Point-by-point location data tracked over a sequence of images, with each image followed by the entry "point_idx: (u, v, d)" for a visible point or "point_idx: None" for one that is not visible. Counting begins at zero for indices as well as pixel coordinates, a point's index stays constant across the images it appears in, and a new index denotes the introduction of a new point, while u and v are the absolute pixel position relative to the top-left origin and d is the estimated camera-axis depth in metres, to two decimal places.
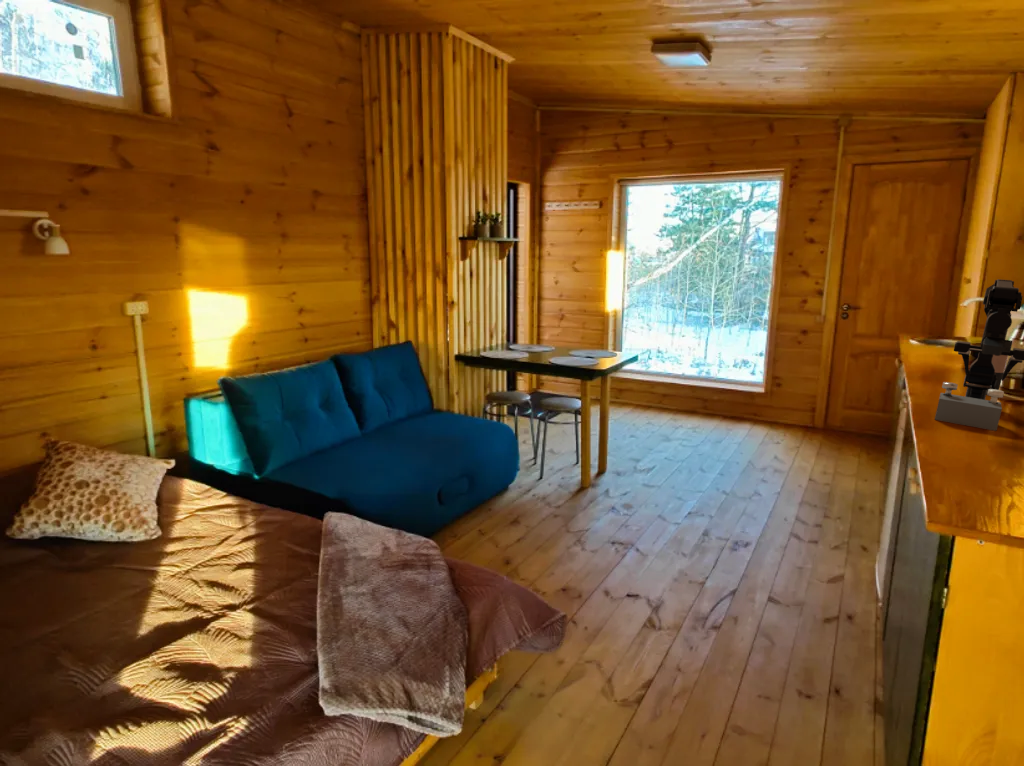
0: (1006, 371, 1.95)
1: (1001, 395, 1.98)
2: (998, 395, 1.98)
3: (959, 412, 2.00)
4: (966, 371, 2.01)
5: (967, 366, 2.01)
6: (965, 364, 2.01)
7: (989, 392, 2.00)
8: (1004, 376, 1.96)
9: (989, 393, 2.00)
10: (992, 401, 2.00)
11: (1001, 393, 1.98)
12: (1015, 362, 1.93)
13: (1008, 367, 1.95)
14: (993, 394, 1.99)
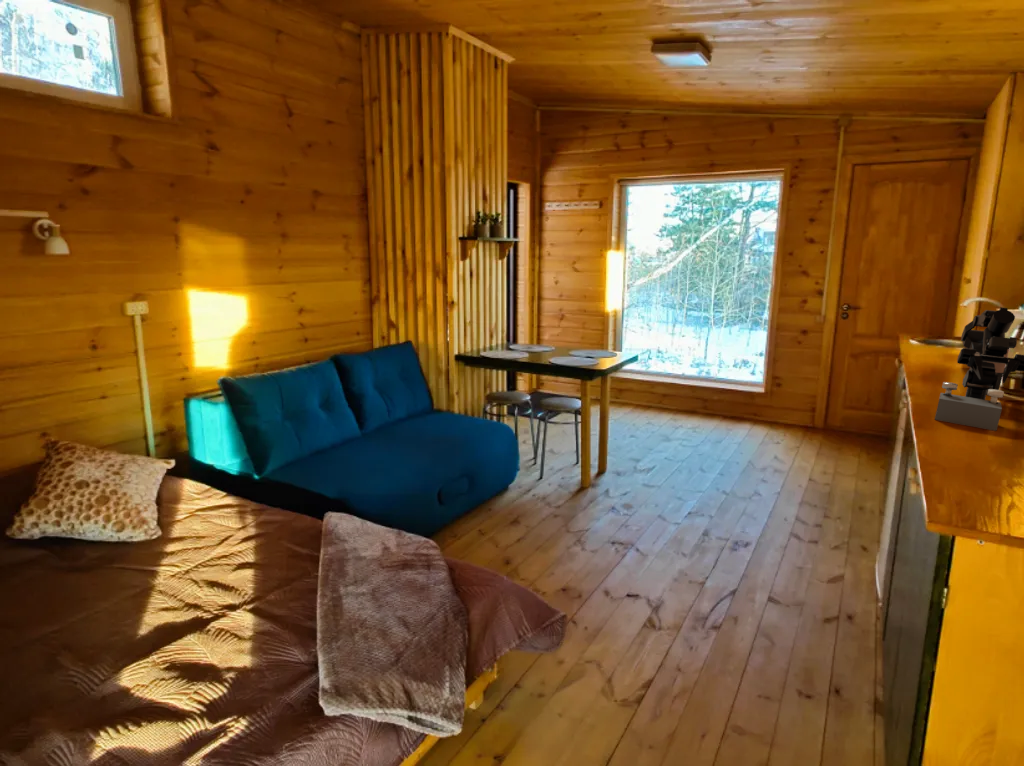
0: (1006, 372, 2.06)
1: (1001, 395, 1.98)
2: (998, 395, 1.98)
3: (959, 412, 2.00)
4: (980, 374, 2.08)
5: (981, 369, 2.08)
6: (979, 368, 2.09)
7: (989, 392, 2.00)
8: (1005, 377, 2.05)
9: (989, 393, 2.00)
10: (992, 401, 2.00)
11: (1001, 393, 1.98)
12: (1014, 362, 2.05)
13: (1008, 368, 2.06)
14: (993, 394, 1.99)
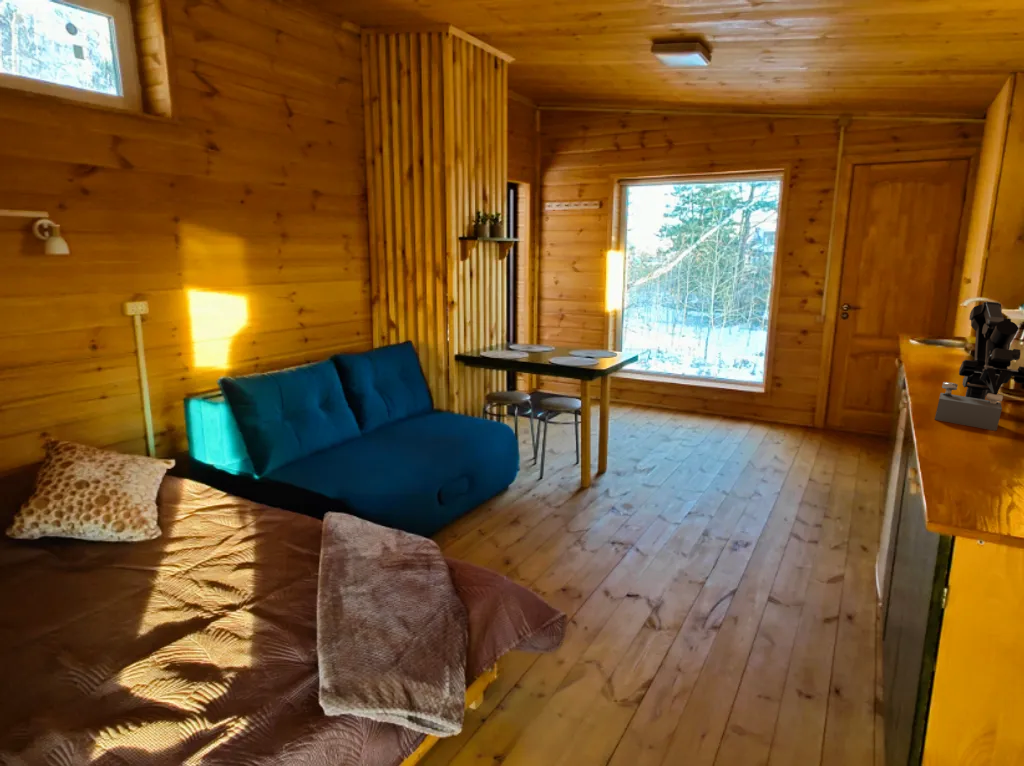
0: (998, 384, 2.01)
1: (1000, 399, 1.99)
2: (997, 399, 1.99)
3: (959, 412, 2.00)
4: (994, 388, 2.00)
5: (994, 384, 2.01)
6: (992, 382, 2.01)
7: (988, 396, 2.00)
8: (997, 388, 2.00)
9: (988, 397, 2.00)
10: None
11: (1000, 397, 1.99)
12: (1006, 373, 2.00)
13: (1000, 380, 2.01)
14: (992, 398, 1.99)
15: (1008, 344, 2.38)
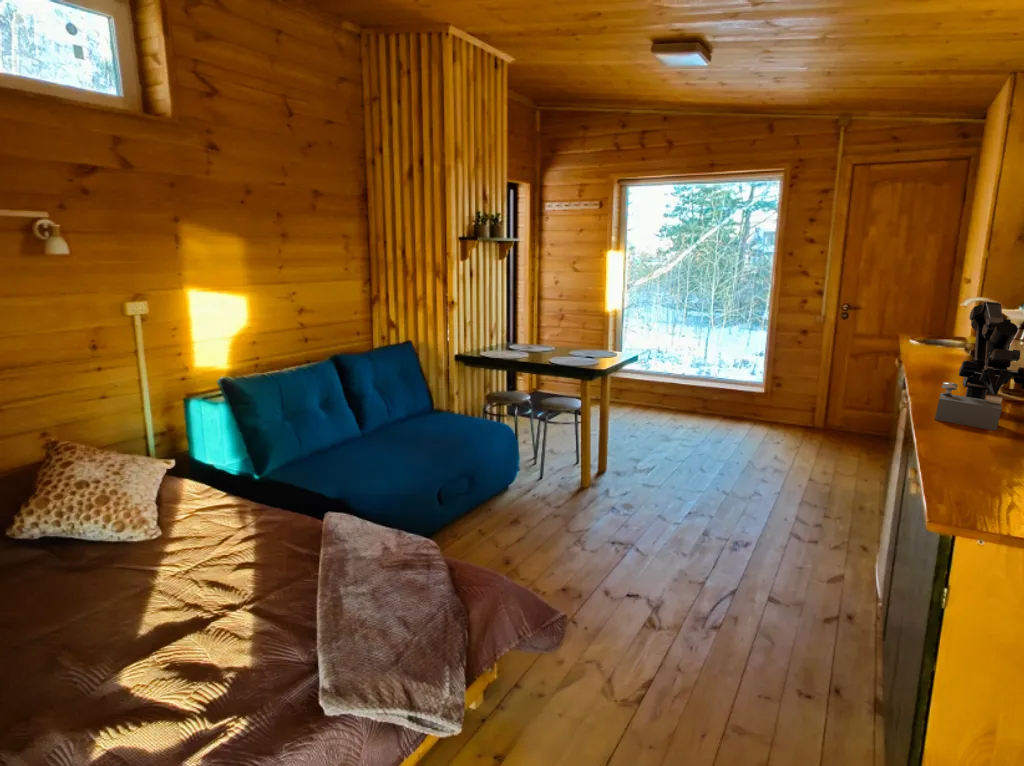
0: (998, 384, 2.00)
1: (999, 402, 1.99)
2: (996, 402, 1.99)
3: (959, 412, 2.00)
4: (994, 389, 2.00)
5: (994, 384, 2.01)
6: (992, 382, 2.01)
7: (987, 399, 2.01)
8: (997, 389, 2.00)
9: (987, 400, 2.01)
10: None
11: (999, 400, 1.99)
12: (1006, 374, 2.00)
13: (999, 380, 2.01)
14: (991, 401, 2.00)
15: None
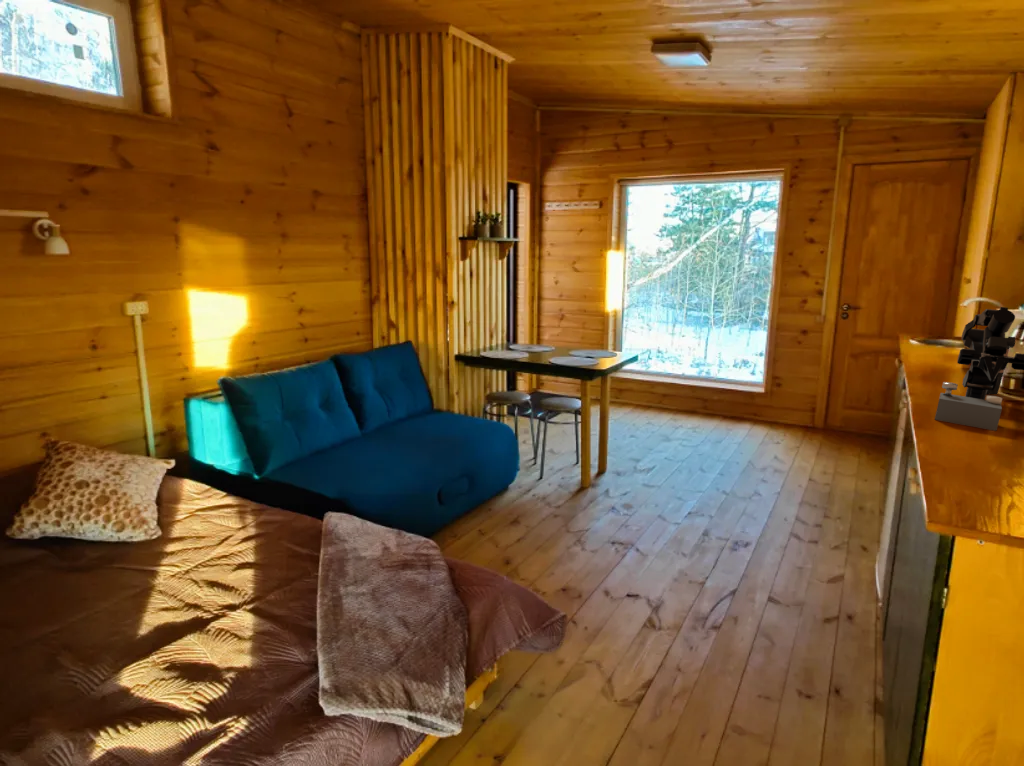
0: (995, 371, 2.07)
1: (999, 402, 1.99)
2: (996, 402, 1.99)
3: (959, 412, 2.00)
4: (991, 375, 2.07)
5: (991, 371, 2.07)
6: (989, 369, 2.08)
7: (987, 399, 2.01)
8: (994, 375, 2.06)
9: (987, 400, 2.01)
10: None
11: (999, 400, 1.99)
12: (1002, 360, 2.06)
13: (996, 367, 2.07)
14: (991, 401, 2.00)
15: None
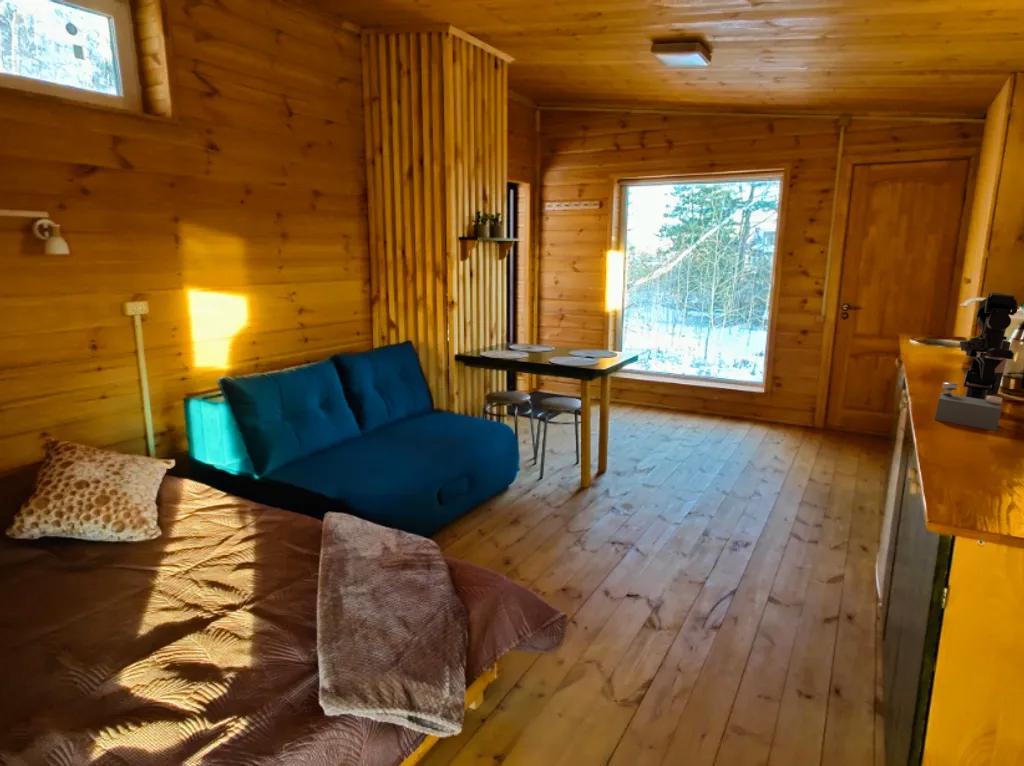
0: (982, 369, 2.11)
1: (999, 402, 1.99)
2: (996, 402, 1.99)
3: (959, 412, 2.00)
4: (980, 375, 2.12)
5: (981, 370, 2.12)
6: (980, 368, 2.12)
7: (987, 399, 2.01)
8: (982, 374, 2.11)
9: (987, 400, 2.01)
10: None
11: (999, 400, 1.99)
12: (981, 359, 2.09)
13: (982, 365, 2.11)
14: (991, 401, 2.00)
15: (1008, 344, 2.38)
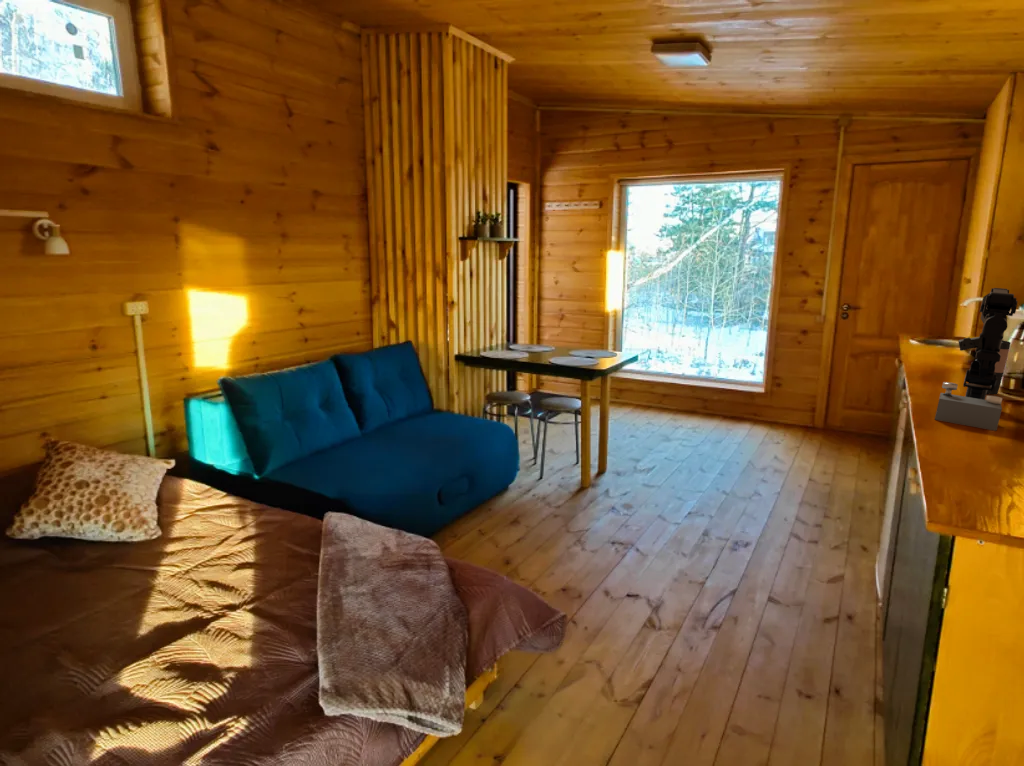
0: (979, 368, 2.12)
1: (999, 402, 1.99)
2: (996, 402, 1.99)
3: (959, 412, 2.00)
4: (979, 373, 2.13)
5: None
6: None
7: (987, 399, 2.01)
8: (979, 373, 2.12)
9: (987, 400, 2.01)
10: None
11: (999, 400, 1.99)
12: (976, 358, 2.11)
13: (979, 364, 2.12)
14: (991, 401, 2.00)
15: (1008, 344, 2.38)
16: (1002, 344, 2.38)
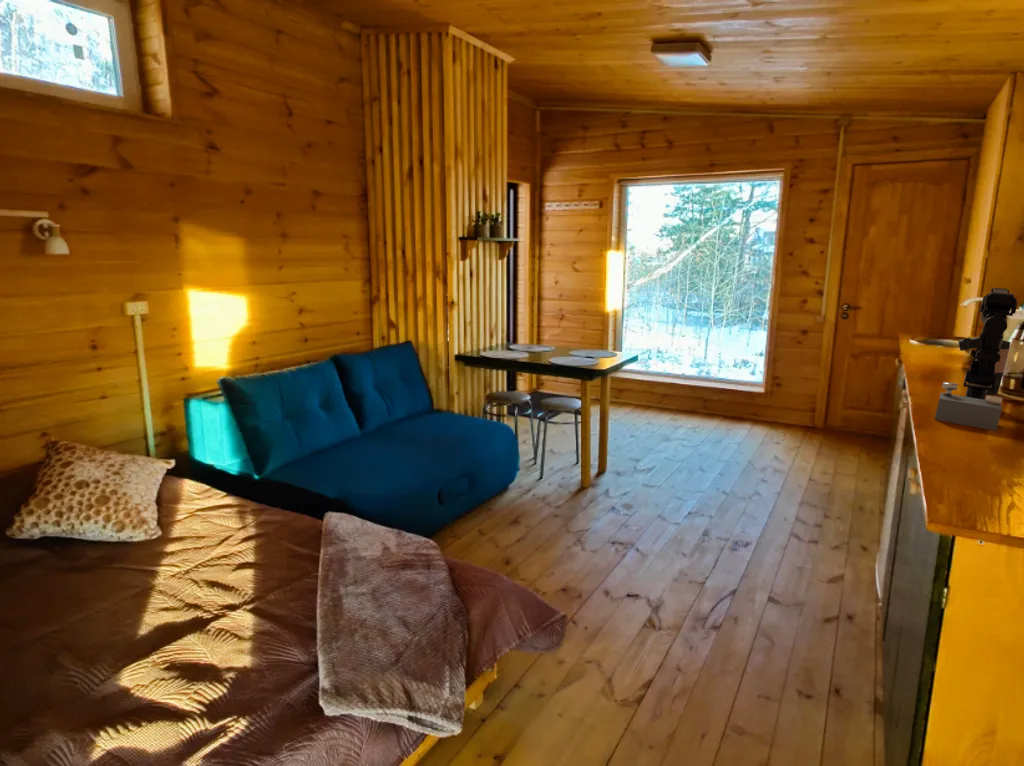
0: (979, 368, 2.12)
1: (999, 402, 1.99)
2: (996, 402, 1.99)
3: (959, 412, 2.00)
4: (979, 373, 2.13)
5: None
6: None
7: (987, 399, 2.01)
8: (979, 373, 2.12)
9: (987, 400, 2.01)
10: None
11: (999, 400, 1.99)
12: (976, 358, 2.11)
13: (979, 364, 2.12)
14: (991, 401, 2.00)
15: (1008, 344, 2.38)
16: (1002, 344, 2.38)
